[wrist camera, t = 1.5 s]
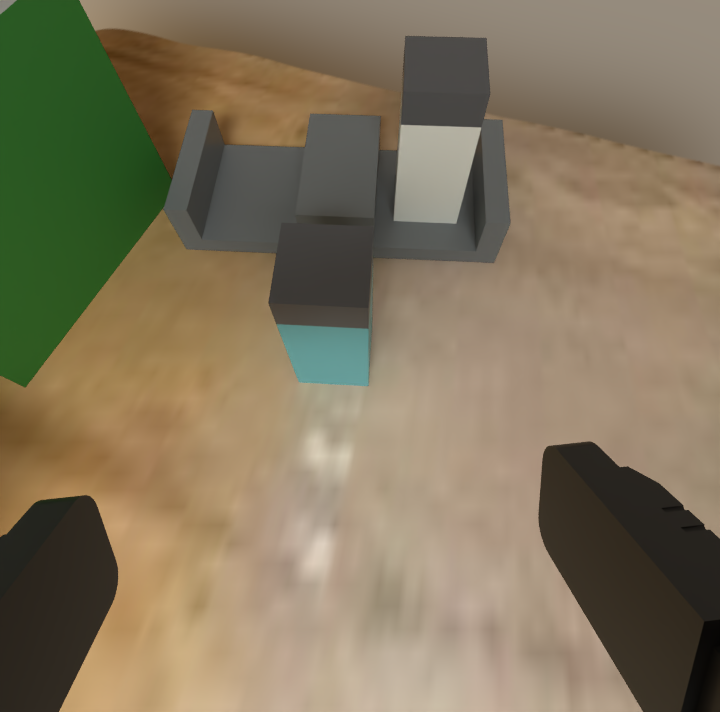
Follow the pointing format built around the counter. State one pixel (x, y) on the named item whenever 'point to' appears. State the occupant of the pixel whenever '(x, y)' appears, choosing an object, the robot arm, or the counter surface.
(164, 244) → the counter surface
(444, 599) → the counter surface
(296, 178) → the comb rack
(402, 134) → the ivory plug
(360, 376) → the grey-topped teal block
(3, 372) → the hardback book
